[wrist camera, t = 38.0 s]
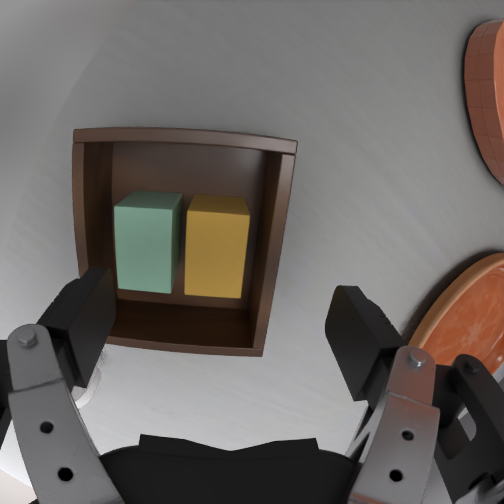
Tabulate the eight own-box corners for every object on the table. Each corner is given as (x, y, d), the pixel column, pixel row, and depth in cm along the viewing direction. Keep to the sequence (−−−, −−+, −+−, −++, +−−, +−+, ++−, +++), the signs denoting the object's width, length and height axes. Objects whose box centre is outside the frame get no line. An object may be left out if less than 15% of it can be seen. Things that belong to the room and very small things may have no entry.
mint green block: (134, 190, 20) (113, 206, 16) (182, 193, 21) (172, 209, 17) (134, 260, 22) (118, 288, 18) (179, 263, 23) (171, 294, 19)
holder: (107, 127, 19) (72, 129, 14) (279, 137, 20) (298, 140, 15) (112, 301, 24) (91, 341, 19) (254, 313, 26) (262, 357, 21)
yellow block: (194, 193, 21) (186, 210, 17) (245, 197, 21) (250, 215, 17) (190, 264, 23) (184, 295, 19) (237, 267, 23) (240, 298, 19)
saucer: (420, 251, 25) (442, 269, 22) (534, 242, 27) (552, 253, 23) (372, 409, 34) (382, 429, 31) (485, 370, 36) (496, 383, 32)
